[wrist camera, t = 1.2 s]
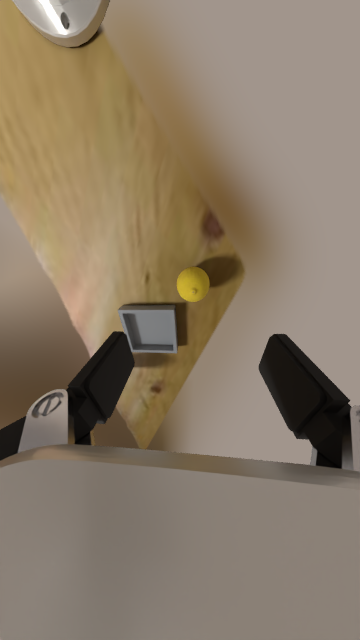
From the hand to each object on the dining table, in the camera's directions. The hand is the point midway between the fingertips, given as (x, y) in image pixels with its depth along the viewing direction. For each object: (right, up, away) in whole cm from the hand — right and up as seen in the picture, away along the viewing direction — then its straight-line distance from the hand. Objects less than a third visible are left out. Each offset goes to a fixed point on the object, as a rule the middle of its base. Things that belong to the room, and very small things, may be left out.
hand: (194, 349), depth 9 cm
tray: (-8, 0, +24) cm, 25 cm away
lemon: (+2, +10, +18) cm, 20 cm away
